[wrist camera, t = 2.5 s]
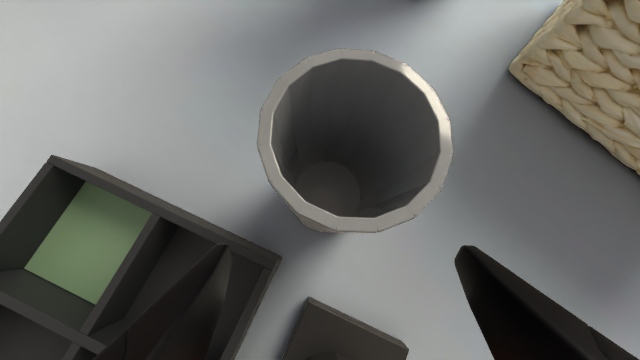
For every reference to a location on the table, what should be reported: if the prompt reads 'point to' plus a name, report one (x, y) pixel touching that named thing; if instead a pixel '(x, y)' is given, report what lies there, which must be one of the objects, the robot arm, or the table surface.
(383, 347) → the block
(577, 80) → the basket
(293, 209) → the tumbler
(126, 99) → the table surface
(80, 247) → the divided tray
